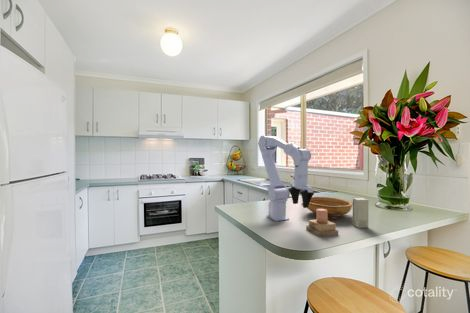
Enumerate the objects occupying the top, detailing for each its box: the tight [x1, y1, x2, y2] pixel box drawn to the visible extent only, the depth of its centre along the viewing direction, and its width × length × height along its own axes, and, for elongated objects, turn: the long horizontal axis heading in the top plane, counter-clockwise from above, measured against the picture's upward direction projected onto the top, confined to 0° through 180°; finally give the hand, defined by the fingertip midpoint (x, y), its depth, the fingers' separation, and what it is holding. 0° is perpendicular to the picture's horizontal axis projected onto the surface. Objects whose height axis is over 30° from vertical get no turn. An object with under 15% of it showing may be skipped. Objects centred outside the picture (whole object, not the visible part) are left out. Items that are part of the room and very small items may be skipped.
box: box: [352, 197, 369, 229], centre depth 102 cm, size 5×4×13 cm
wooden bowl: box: [301, 196, 353, 220], centre depth 119 cm, size 30×24×8 cm
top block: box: [308, 219, 336, 232], centre depth 94 cm, size 8×8×2 cm
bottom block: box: [305, 224, 339, 238], centre depth 94 cm, size 9×9×2 cm
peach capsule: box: [315, 209, 329, 223], centre depth 94 cm, size 4×4×5 cm
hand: (300, 205), depth 100 cm, fingers open, 7 cm apart
